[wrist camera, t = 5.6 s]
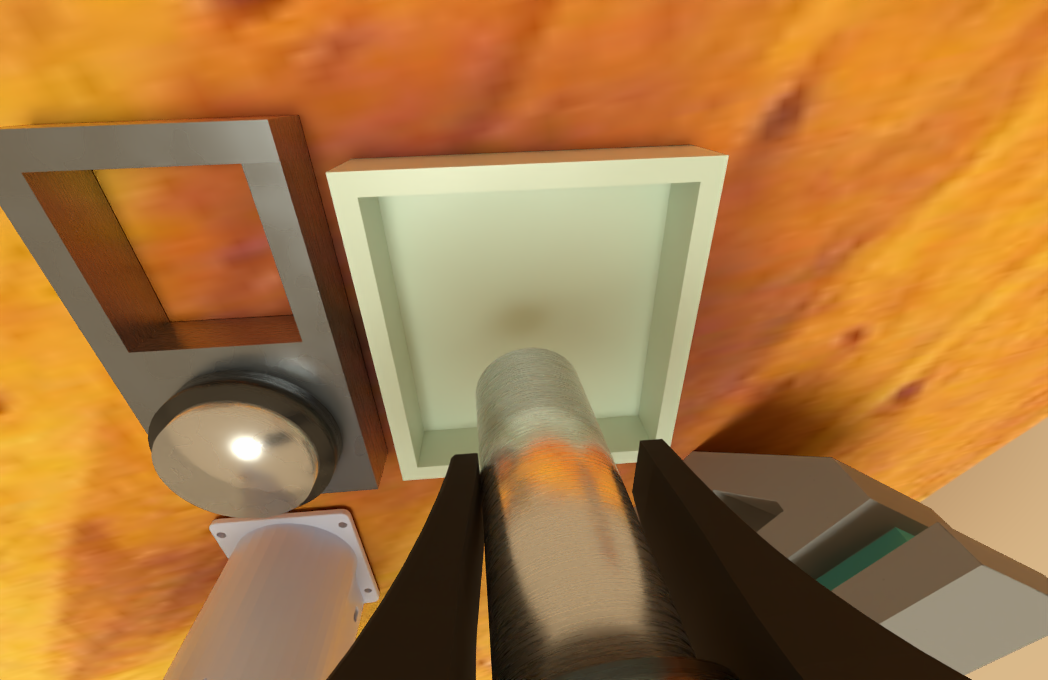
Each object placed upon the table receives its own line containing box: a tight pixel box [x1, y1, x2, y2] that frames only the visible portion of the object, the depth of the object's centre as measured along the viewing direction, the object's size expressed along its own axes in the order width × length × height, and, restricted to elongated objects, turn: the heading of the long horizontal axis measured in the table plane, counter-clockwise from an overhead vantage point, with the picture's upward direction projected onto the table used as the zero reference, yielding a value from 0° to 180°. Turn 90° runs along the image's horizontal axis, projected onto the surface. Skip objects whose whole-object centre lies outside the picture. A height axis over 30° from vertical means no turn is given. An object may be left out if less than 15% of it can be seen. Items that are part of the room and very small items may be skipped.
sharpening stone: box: [634, 451, 1048, 675], centre depth 24 cm, size 25×8×11 cm, turn 149°
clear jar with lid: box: [476, 348, 740, 680], centre depth 10 cm, size 5×5×10 cm
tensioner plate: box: [0, 115, 388, 519], centre depth 17 cm, size 16×9×4 cm, turn 2°
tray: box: [326, 145, 729, 481], centre depth 19 cm, size 14×13×3 cm
